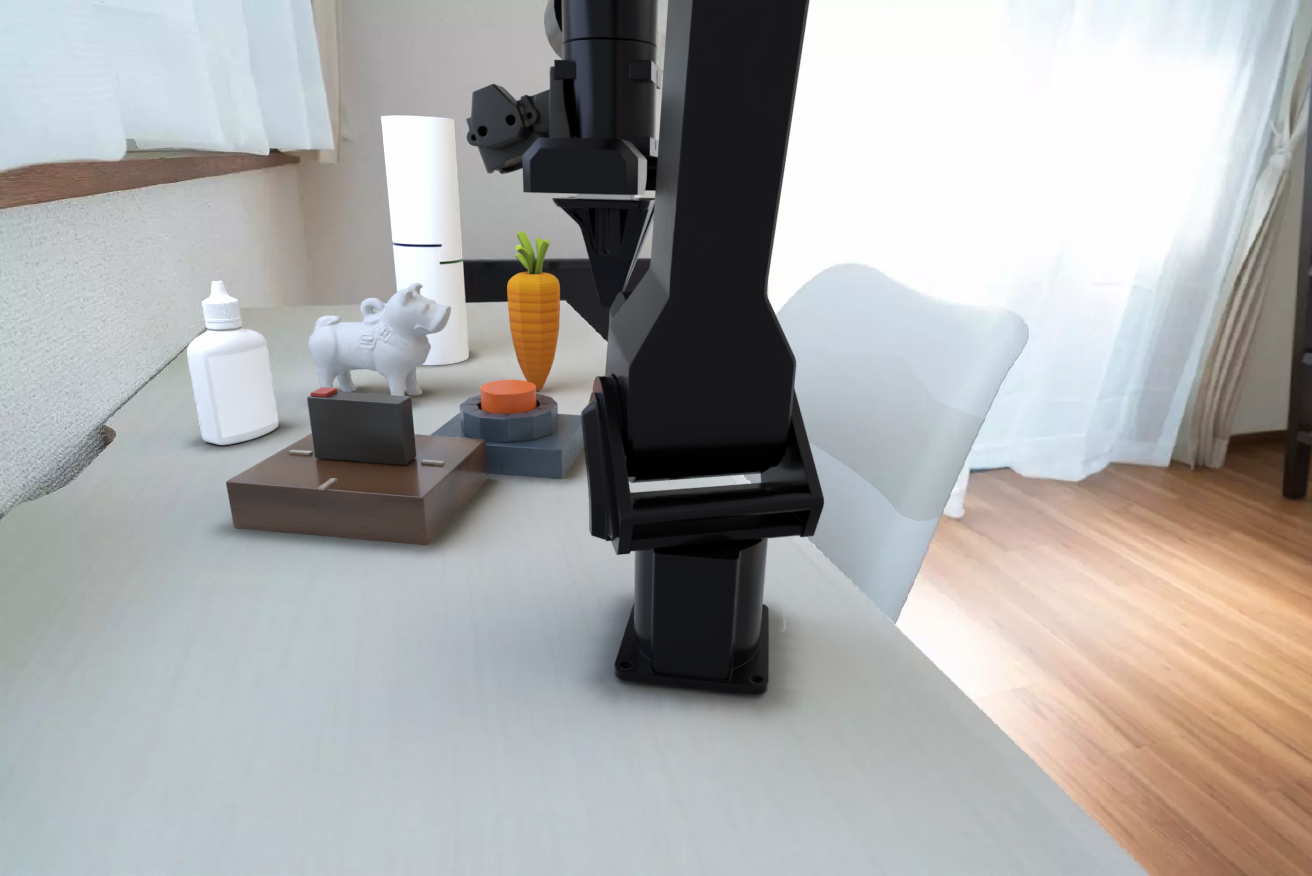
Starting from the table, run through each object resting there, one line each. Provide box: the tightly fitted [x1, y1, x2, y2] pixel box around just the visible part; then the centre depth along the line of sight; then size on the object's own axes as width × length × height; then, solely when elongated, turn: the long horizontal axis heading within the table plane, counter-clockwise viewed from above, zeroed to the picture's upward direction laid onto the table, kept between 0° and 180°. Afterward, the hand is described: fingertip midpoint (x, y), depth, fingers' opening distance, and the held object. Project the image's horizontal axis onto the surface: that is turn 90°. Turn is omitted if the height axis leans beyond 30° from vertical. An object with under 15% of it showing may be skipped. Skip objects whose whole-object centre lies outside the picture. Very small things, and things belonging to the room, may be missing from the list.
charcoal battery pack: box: [306, 387, 416, 465], centre depth 47 cm, size 6×2×4 cm, turn 81°
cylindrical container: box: [380, 115, 470, 366], centre depth 81 cm, size 7×7×25 cm
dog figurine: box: [307, 282, 451, 396], centre depth 68 cm, size 5×13×11 cm, turn 87°
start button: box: [479, 379, 537, 414], centre depth 56 cm, size 4×4×2 cm
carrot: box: [506, 230, 561, 393], centre depth 71 cm, size 5×5×15 cm
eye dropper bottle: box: [186, 280, 280, 446], centre depth 58 cm, size 4×6×12 cm
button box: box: [430, 392, 584, 480], centre depth 56 cm, size 8×10×4 cm
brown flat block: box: [225, 432, 489, 546], centre depth 48 cm, size 10×12×3 cm
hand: (609, 307), depth 51 cm, fingers closed
